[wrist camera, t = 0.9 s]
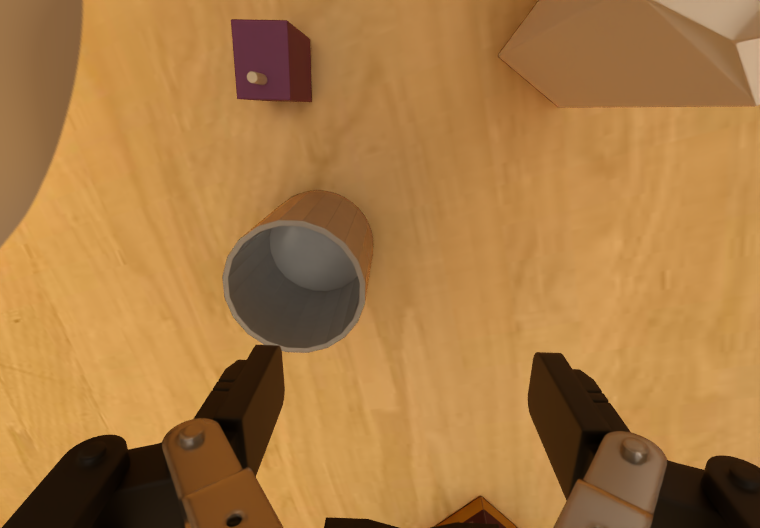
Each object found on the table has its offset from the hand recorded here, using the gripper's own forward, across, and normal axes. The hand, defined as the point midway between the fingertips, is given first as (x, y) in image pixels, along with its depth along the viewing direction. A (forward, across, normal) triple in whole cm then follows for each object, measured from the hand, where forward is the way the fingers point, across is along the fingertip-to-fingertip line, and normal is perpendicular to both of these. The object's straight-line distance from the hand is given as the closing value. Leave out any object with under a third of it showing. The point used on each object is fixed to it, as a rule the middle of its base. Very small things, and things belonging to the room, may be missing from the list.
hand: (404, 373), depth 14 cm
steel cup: (+22, +6, +3) cm, 24 cm away
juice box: (+23, +8, -10) cm, 26 cm away
